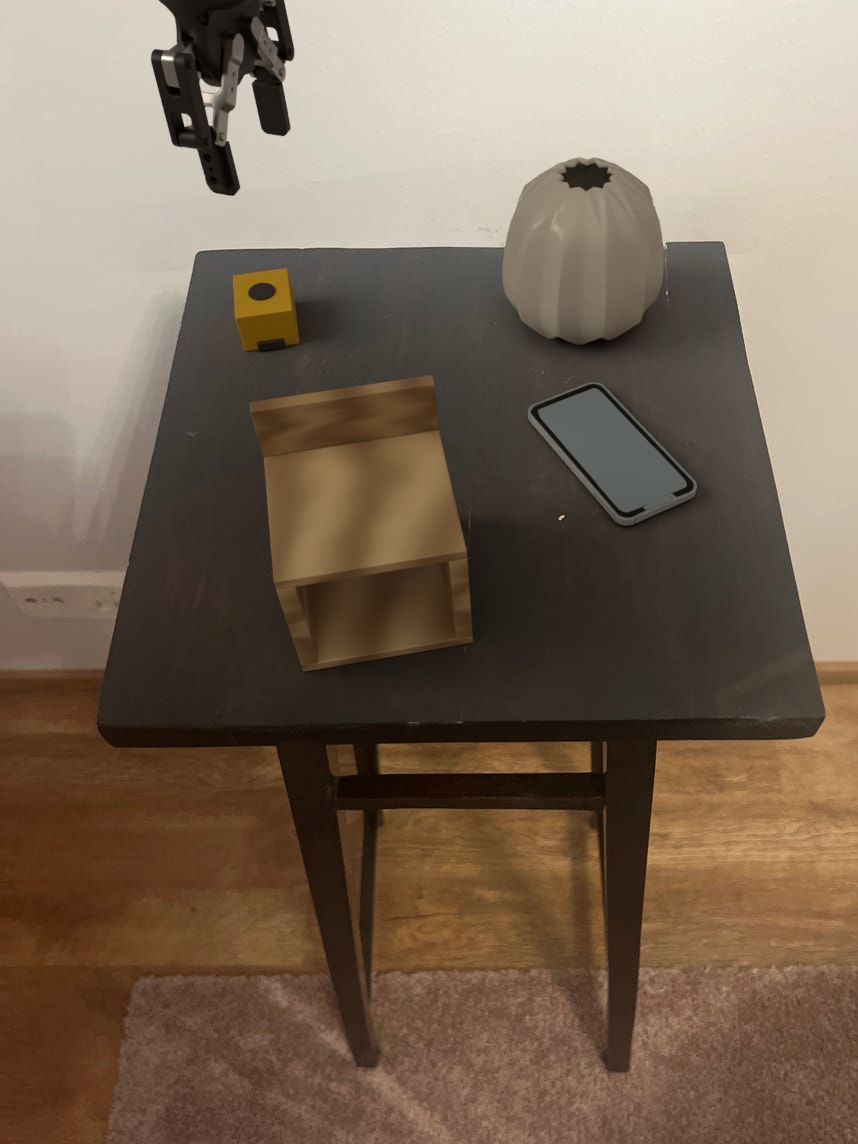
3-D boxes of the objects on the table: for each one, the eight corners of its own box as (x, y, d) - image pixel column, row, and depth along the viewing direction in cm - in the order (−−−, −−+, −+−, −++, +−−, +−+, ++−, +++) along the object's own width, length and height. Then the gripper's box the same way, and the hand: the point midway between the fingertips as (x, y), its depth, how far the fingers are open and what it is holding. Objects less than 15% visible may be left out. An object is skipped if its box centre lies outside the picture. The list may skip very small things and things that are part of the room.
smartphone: (598, 378, 83) (703, 488, 75) (597, 386, 84) (701, 496, 76) (522, 408, 81) (622, 523, 73) (522, 416, 82) (621, 531, 74)
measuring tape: (244, 354, 88) (234, 319, 85) (241, 308, 92) (231, 273, 88) (300, 346, 88) (292, 311, 85) (294, 301, 92) (287, 266, 89)
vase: (531, 259, 94) (532, 119, 83) (672, 285, 91) (692, 144, 80) (482, 347, 87) (476, 206, 76) (633, 378, 84) (649, 236, 73)
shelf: (303, 672, 68) (259, 539, 56) (291, 543, 74) (249, 401, 63) (473, 643, 69) (463, 506, 57) (445, 518, 75) (432, 374, 64)
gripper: (194, -141, 65) (250, 109, 78) (76, -55, 57) (161, 205, 70) (296, -132, 63) (336, 121, 76) (190, -43, 55) (254, 221, 69)
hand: (252, 161), depth 73 cm, fingers open, 8 cm apart
